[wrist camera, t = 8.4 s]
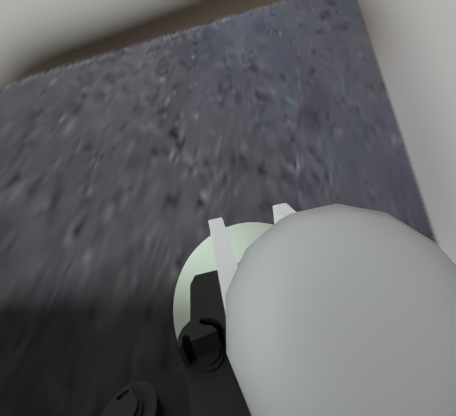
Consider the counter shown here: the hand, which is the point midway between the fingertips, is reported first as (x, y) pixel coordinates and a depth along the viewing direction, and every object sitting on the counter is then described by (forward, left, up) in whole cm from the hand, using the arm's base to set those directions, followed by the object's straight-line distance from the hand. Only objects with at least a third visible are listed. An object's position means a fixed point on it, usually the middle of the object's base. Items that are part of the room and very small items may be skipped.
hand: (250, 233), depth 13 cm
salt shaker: (+3, -3, -4) cm, 6 cm away
